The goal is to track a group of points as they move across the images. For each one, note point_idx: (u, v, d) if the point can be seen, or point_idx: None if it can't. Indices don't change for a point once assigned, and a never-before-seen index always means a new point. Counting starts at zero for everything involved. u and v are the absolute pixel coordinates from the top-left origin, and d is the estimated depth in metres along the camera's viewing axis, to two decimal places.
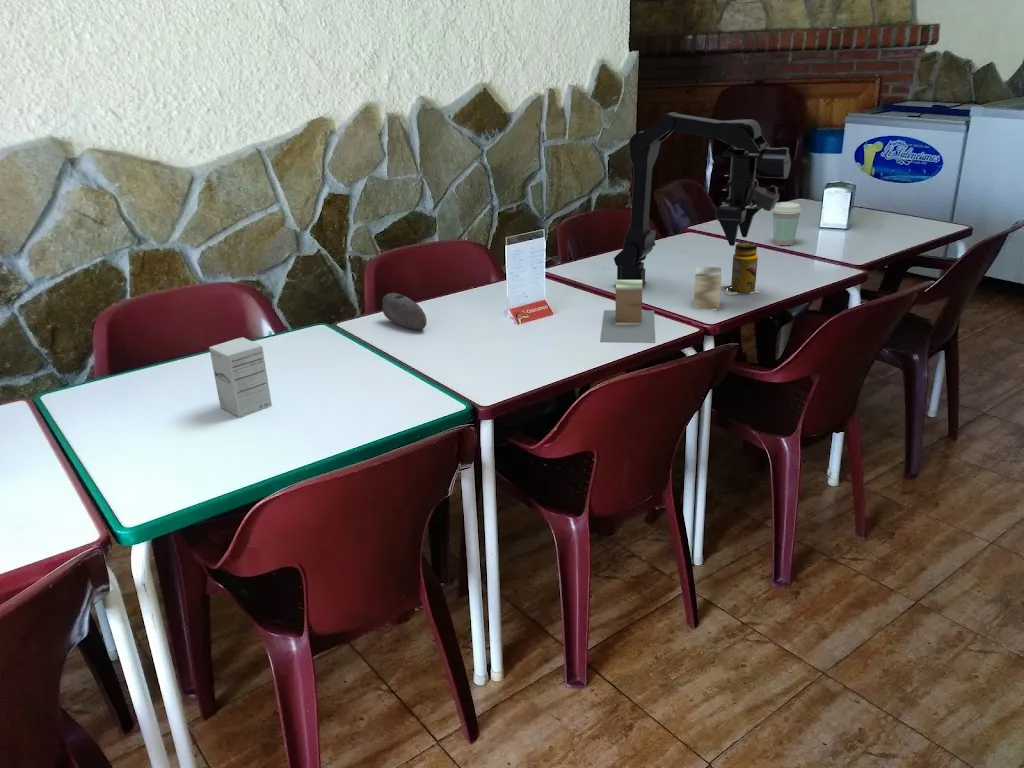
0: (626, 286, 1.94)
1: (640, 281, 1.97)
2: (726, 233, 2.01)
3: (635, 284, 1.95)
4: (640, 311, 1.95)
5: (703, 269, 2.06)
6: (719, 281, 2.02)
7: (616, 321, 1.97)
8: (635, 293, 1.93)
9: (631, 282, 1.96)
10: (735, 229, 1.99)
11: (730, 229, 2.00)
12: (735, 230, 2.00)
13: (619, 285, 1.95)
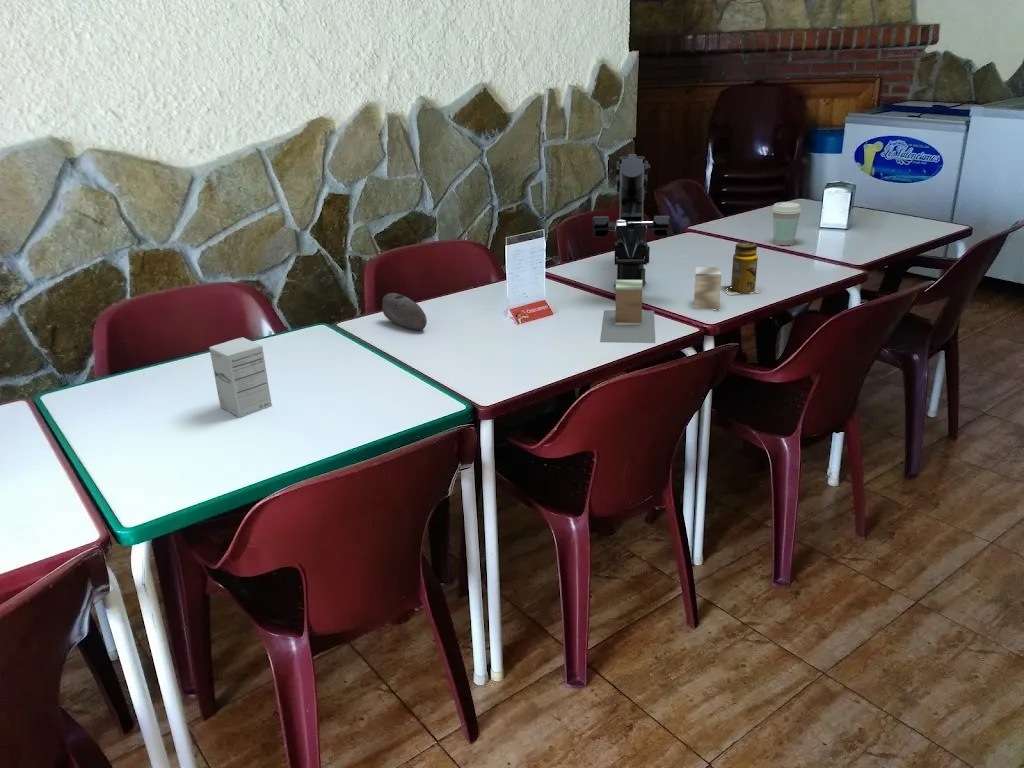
0: (626, 286, 1.94)
1: (640, 281, 1.97)
2: (636, 243, 2.03)
3: (635, 284, 1.95)
4: (640, 311, 1.95)
5: (703, 269, 2.06)
6: (719, 281, 2.02)
7: (616, 321, 1.97)
8: (635, 293, 1.93)
9: (631, 282, 1.96)
10: (637, 243, 2.06)
11: None
12: (637, 244, 2.05)
13: (619, 285, 1.95)
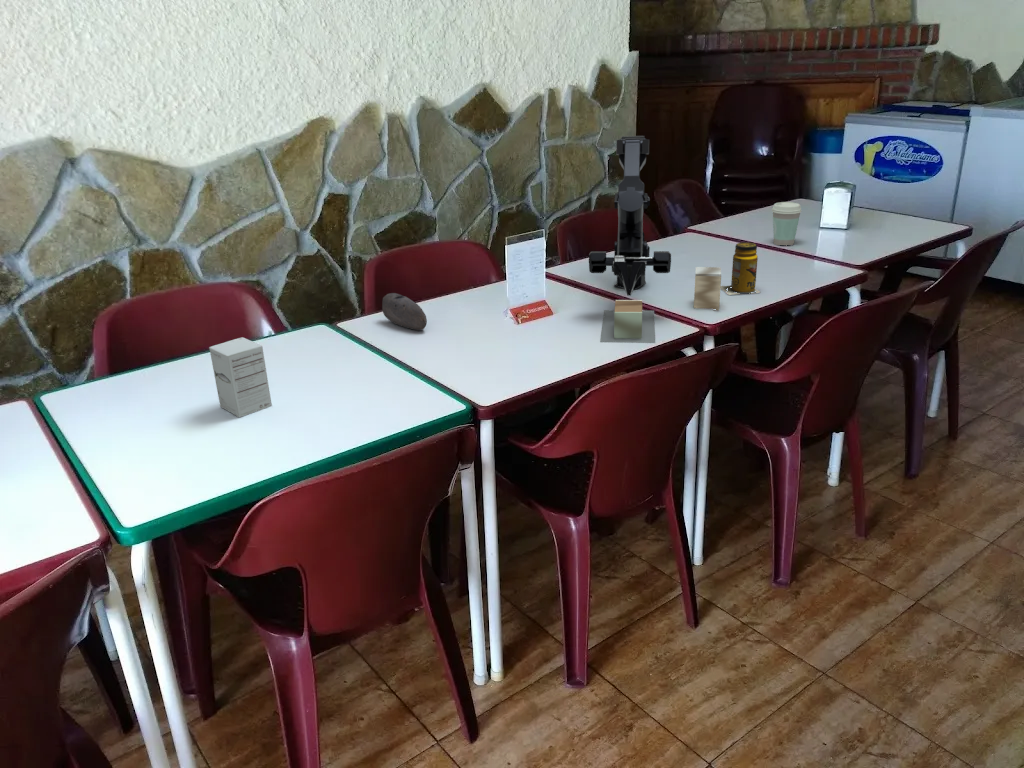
0: (625, 335, 1.88)
1: (640, 318, 1.86)
2: (634, 280, 1.94)
3: (634, 328, 1.87)
4: None
5: (703, 269, 2.06)
6: (719, 281, 2.02)
7: None
8: None
9: (630, 322, 1.87)
10: (636, 280, 1.96)
11: None
12: (636, 281, 1.96)
13: (618, 332, 1.88)
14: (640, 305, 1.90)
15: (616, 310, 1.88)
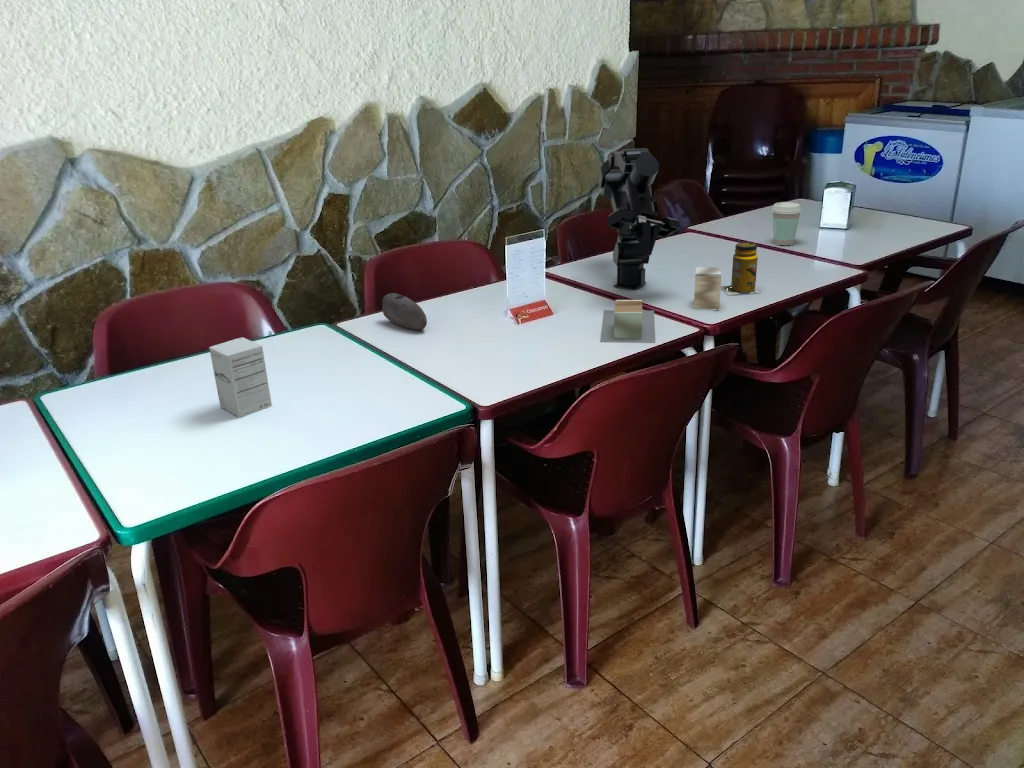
0: (625, 335, 1.88)
1: (640, 318, 1.86)
2: None
3: (634, 328, 1.87)
4: None
5: (703, 269, 2.06)
6: (719, 281, 2.02)
7: None
8: None
9: (630, 322, 1.87)
10: None
11: None
12: None
13: (618, 332, 1.88)
14: (640, 305, 1.90)
15: (616, 310, 1.88)
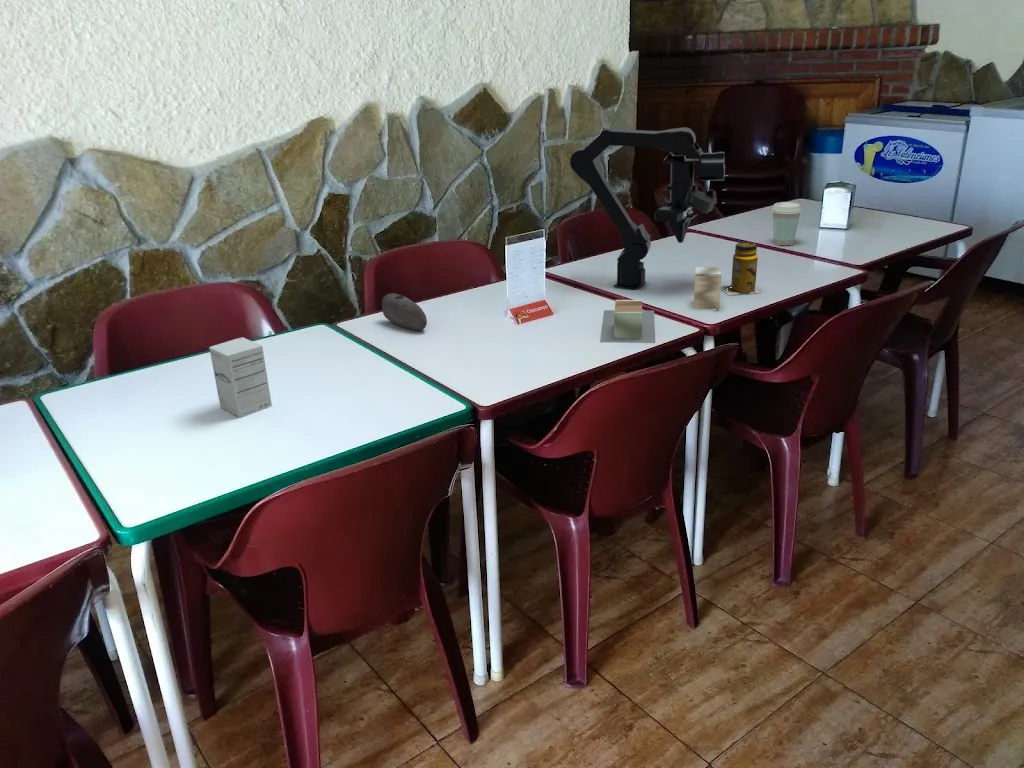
0: (625, 335, 1.88)
1: (640, 318, 1.86)
2: (674, 231, 2.17)
3: (634, 328, 1.87)
4: None
5: (703, 269, 2.06)
6: (719, 281, 2.02)
7: None
8: None
9: (630, 322, 1.87)
10: (681, 227, 2.15)
11: (677, 227, 2.16)
12: (682, 228, 2.15)
13: (618, 332, 1.88)
14: (640, 305, 1.90)
15: (616, 310, 1.88)
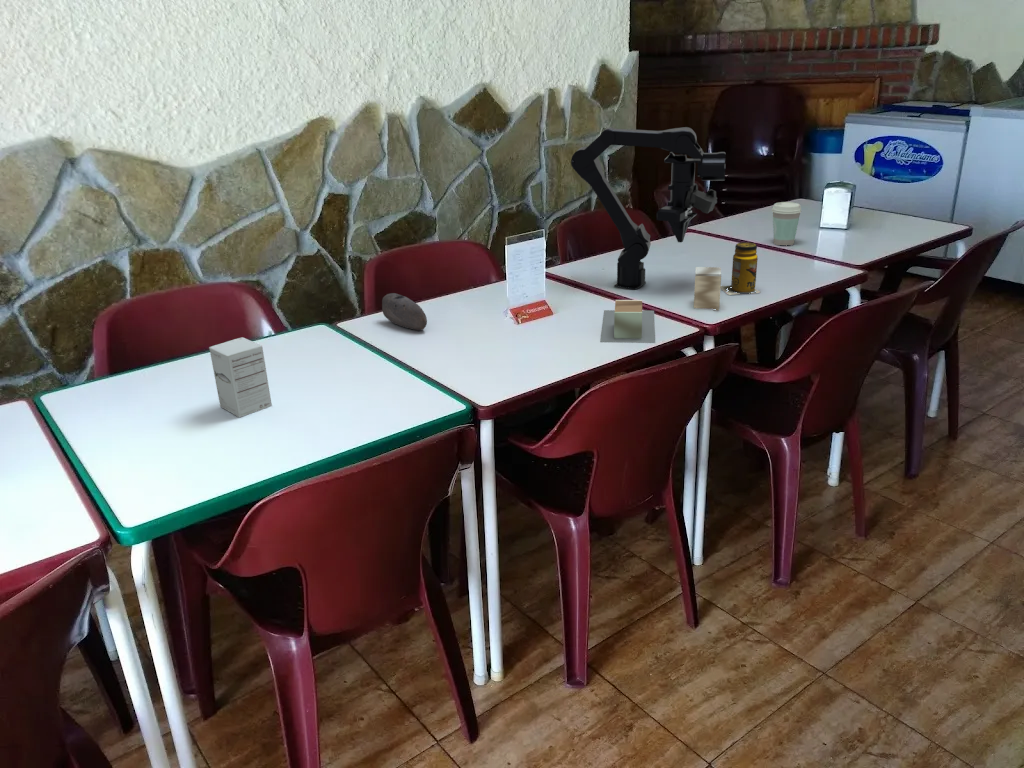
0: (625, 335, 1.88)
1: (640, 318, 1.86)
2: (674, 230, 2.17)
3: (634, 328, 1.87)
4: None
5: (703, 269, 2.06)
6: (719, 281, 2.02)
7: None
8: None
9: (630, 322, 1.87)
10: (682, 227, 2.15)
11: (678, 227, 2.16)
12: (682, 228, 2.15)
13: (618, 332, 1.88)
14: (640, 305, 1.90)
15: (616, 310, 1.88)
